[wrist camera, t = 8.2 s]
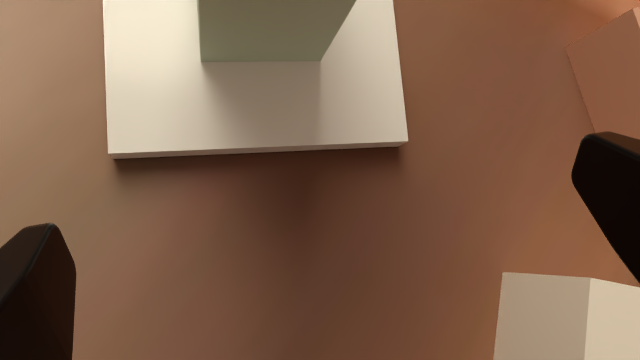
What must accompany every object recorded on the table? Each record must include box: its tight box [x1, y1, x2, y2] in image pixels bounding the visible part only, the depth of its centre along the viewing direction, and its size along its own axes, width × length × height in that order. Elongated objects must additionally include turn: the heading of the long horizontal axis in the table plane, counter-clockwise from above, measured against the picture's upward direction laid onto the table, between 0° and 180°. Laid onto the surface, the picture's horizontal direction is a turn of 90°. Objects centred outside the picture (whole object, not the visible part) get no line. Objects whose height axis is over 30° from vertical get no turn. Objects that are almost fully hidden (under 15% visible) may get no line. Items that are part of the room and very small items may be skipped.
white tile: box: [103, 0, 408, 159], centre depth 20 cm, size 11×11×1 cm
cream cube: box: [493, 272, 640, 360], centre depth 19 cm, size 5×5×5 cm
